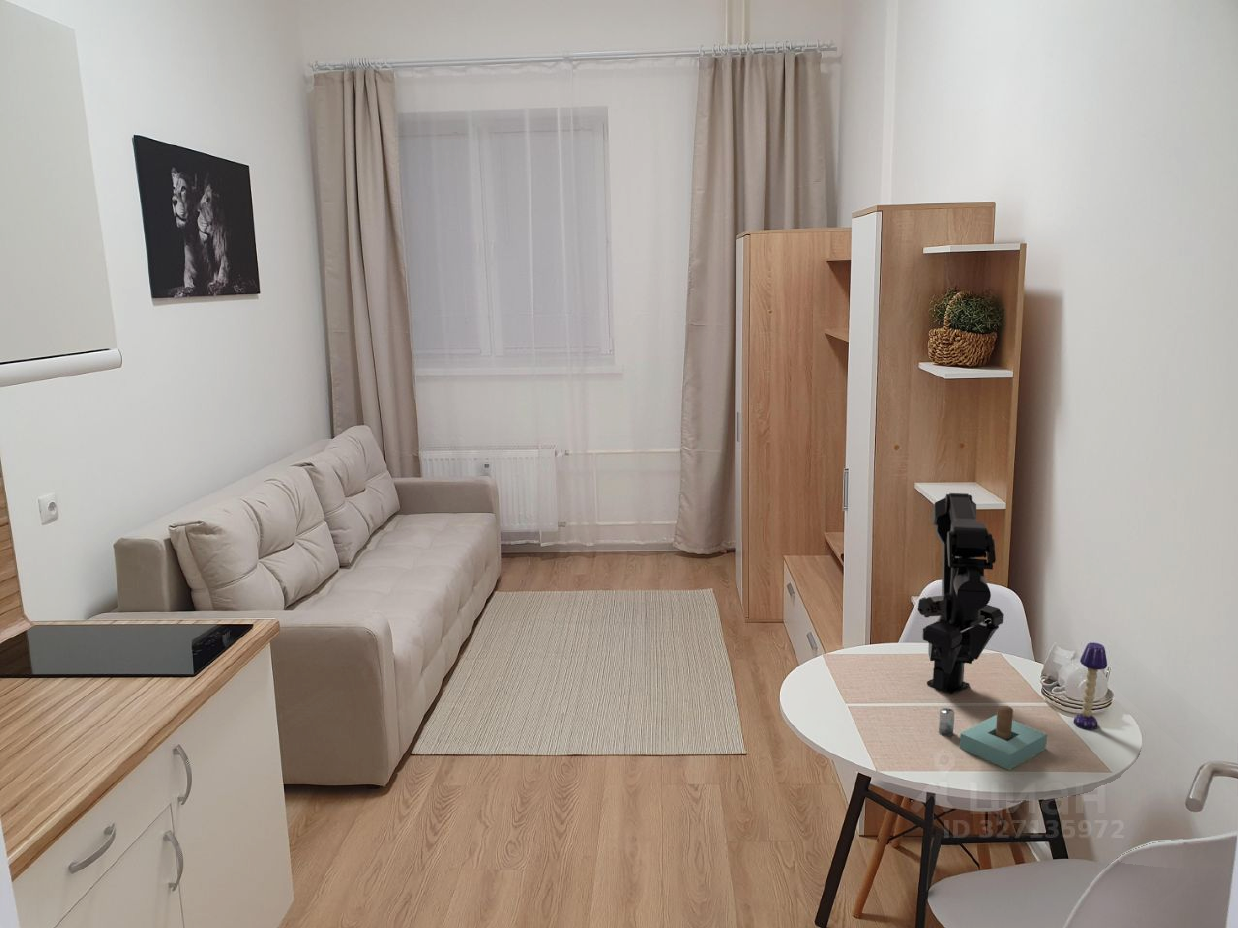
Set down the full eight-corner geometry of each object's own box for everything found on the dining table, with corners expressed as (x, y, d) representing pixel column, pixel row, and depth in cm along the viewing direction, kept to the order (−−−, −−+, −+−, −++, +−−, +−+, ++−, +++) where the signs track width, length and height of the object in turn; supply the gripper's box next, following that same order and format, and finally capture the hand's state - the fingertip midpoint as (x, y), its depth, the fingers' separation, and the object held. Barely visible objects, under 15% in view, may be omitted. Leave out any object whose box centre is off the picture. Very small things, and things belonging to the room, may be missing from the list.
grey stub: (944, 728, 182) (945, 706, 181) (956, 733, 180) (957, 711, 179) (936, 732, 181) (937, 710, 180) (947, 737, 179) (949, 715, 178)
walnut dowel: (1000, 743, 176) (1002, 704, 174) (1012, 749, 174) (1015, 709, 172) (992, 747, 175) (994, 708, 173) (1004, 753, 172) (1007, 713, 171)
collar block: (996, 728, 182) (997, 714, 181) (1045, 748, 174) (1046, 734, 173) (959, 747, 175) (960, 733, 174) (1009, 769, 167) (1010, 754, 166)
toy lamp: (1099, 721, 184) (1106, 641, 180) (1102, 732, 180) (1110, 650, 176) (1072, 717, 185) (1079, 638, 182) (1075, 728, 181) (1082, 647, 178)
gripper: (956, 567, 190) (951, 639, 193) (900, 590, 179) (896, 665, 182) (1007, 582, 181) (1001, 657, 185) (952, 607, 170) (947, 685, 174)
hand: (960, 665), depth 182 cm, fingers open, 9 cm apart
